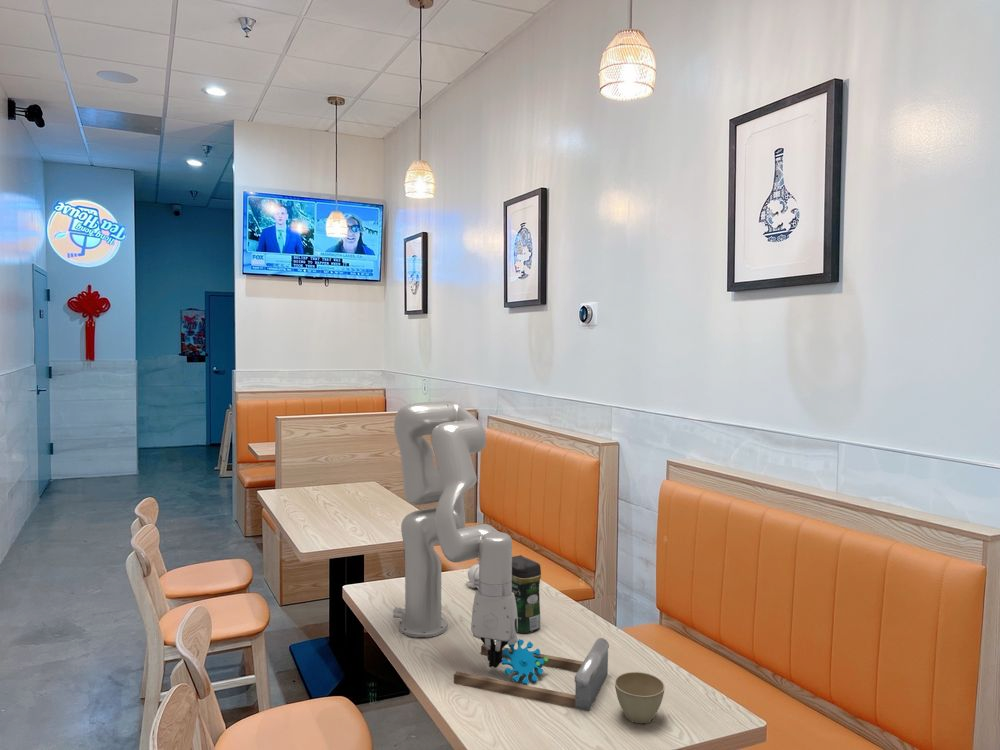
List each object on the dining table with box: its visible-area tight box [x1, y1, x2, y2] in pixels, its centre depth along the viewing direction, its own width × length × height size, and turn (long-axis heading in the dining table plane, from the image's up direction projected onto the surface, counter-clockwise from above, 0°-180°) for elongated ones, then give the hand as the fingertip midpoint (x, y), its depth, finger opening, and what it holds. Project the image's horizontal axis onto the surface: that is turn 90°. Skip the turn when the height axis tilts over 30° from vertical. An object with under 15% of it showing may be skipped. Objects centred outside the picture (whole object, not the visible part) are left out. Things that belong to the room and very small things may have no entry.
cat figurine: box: [467, 558, 479, 589], centre depth 215 cm, size 10×8×15 cm
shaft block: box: [574, 637, 610, 712], centre depth 154 cm, size 3×18×8 cm, turn 158°
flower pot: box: [614, 671, 666, 724], centre depth 143 cm, size 10×10×7 cm
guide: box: [453, 643, 584, 709], centre depth 160 cm, size 28×17×2 cm, turn 69°
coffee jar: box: [512, 554, 542, 634], centre depth 187 cm, size 10×8×19 cm
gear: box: [501, 638, 548, 686], centre depth 161 cm, size 11×6×10 cm
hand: (494, 664), depth 162 cm, fingers closed
